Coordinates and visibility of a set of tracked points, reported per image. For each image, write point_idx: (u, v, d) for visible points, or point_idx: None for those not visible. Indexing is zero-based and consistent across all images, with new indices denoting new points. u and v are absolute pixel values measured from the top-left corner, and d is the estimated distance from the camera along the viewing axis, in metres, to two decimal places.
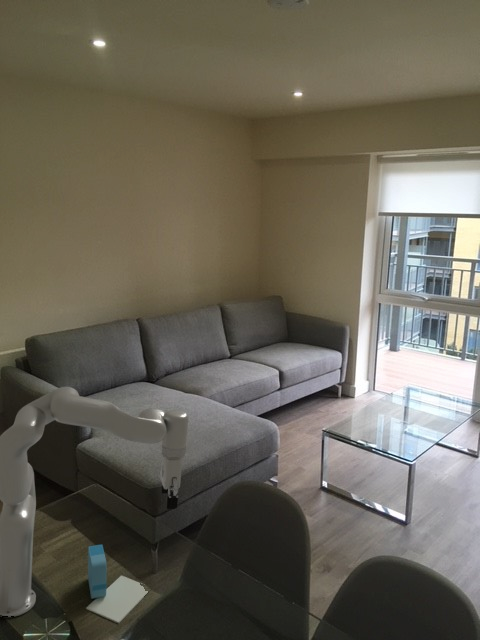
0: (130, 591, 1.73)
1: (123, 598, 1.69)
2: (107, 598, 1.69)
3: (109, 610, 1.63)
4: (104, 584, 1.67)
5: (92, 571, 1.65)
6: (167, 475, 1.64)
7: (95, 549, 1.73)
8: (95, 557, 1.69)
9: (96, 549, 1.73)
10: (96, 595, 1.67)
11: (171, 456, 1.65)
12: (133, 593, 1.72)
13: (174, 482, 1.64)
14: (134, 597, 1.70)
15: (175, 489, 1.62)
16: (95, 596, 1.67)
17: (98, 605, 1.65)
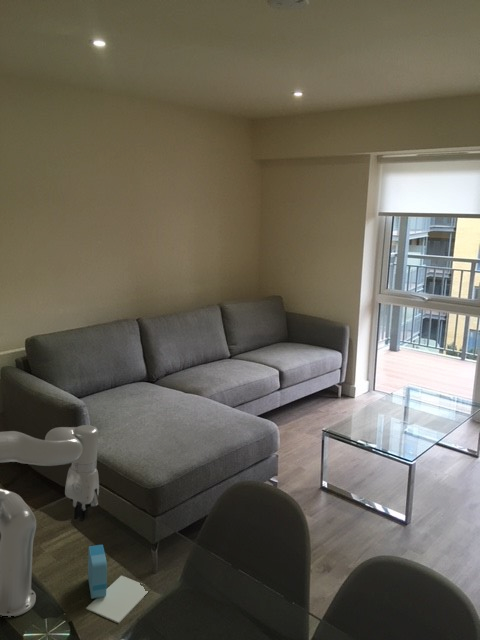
0: (130, 591, 1.73)
1: (123, 598, 1.69)
2: (107, 598, 1.69)
3: (109, 610, 1.63)
4: (104, 584, 1.67)
5: (92, 571, 1.65)
6: (90, 489, 1.66)
7: (95, 549, 1.73)
8: (95, 557, 1.69)
9: (96, 549, 1.73)
10: (96, 595, 1.67)
11: (90, 470, 1.67)
12: (133, 593, 1.72)
13: (95, 497, 1.69)
14: (134, 597, 1.70)
15: None
16: (95, 596, 1.67)
17: (98, 605, 1.65)
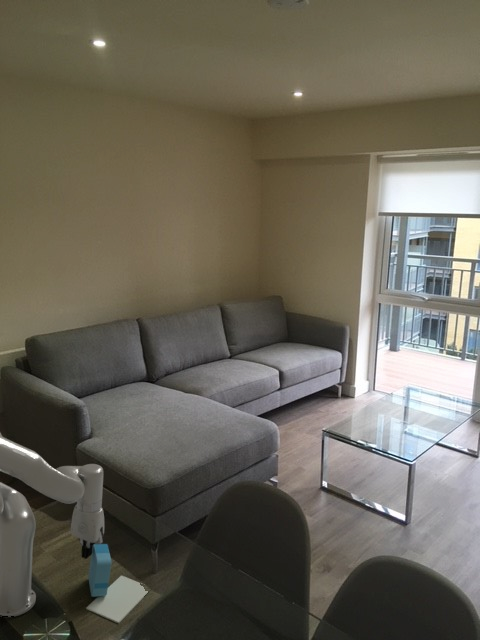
0: (130, 591, 1.73)
1: (123, 598, 1.69)
2: (107, 598, 1.69)
3: (109, 610, 1.63)
4: (106, 583, 1.67)
5: (97, 568, 1.66)
6: (96, 529, 1.68)
7: (100, 547, 1.74)
8: (100, 555, 1.70)
9: (101, 547, 1.74)
10: (97, 594, 1.67)
11: (96, 509, 1.68)
12: (133, 593, 1.72)
13: (100, 536, 1.70)
14: (134, 597, 1.70)
15: (100, 543, 1.70)
16: (96, 594, 1.67)
17: (98, 605, 1.65)
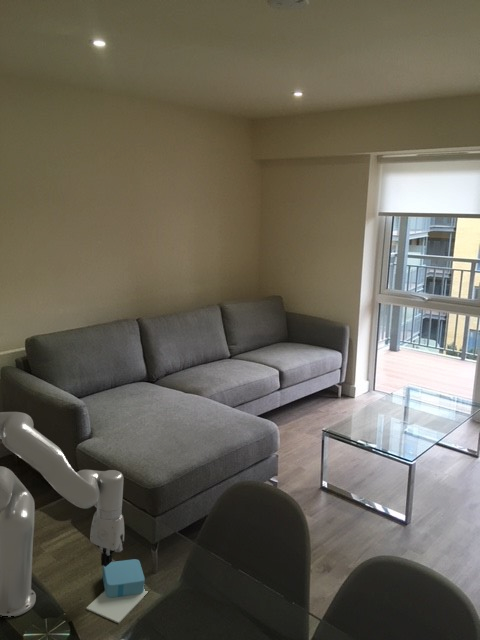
0: None
1: (123, 598, 1.69)
2: (107, 598, 1.69)
3: (109, 610, 1.63)
4: (122, 594, 1.70)
5: (139, 582, 1.71)
6: (116, 536, 1.65)
7: None
8: None
9: None
10: (111, 590, 1.68)
11: (116, 517, 1.65)
12: None
13: (120, 543, 1.67)
14: (134, 597, 1.70)
15: (120, 551, 1.67)
16: (111, 588, 1.68)
17: (98, 605, 1.65)
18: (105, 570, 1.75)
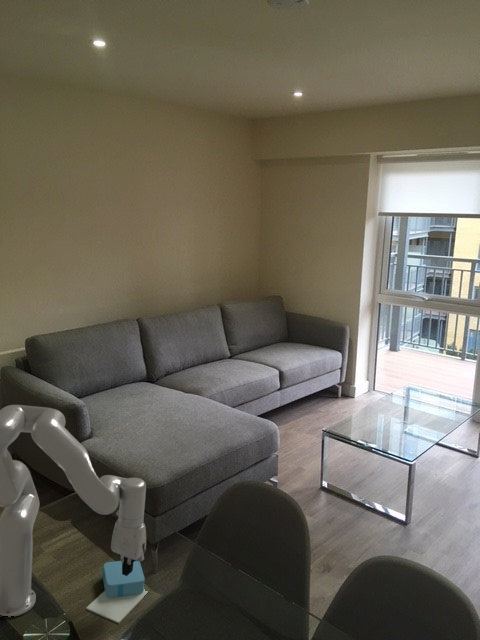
0: None
1: (123, 598, 1.69)
2: (107, 598, 1.69)
3: (109, 610, 1.63)
4: (122, 594, 1.70)
5: (139, 582, 1.71)
6: (138, 545, 1.61)
7: None
8: None
9: None
10: (111, 590, 1.68)
11: (138, 525, 1.62)
12: None
13: (141, 552, 1.64)
14: (134, 597, 1.70)
15: (142, 560, 1.64)
16: (111, 588, 1.68)
17: (98, 605, 1.65)
18: (105, 570, 1.75)
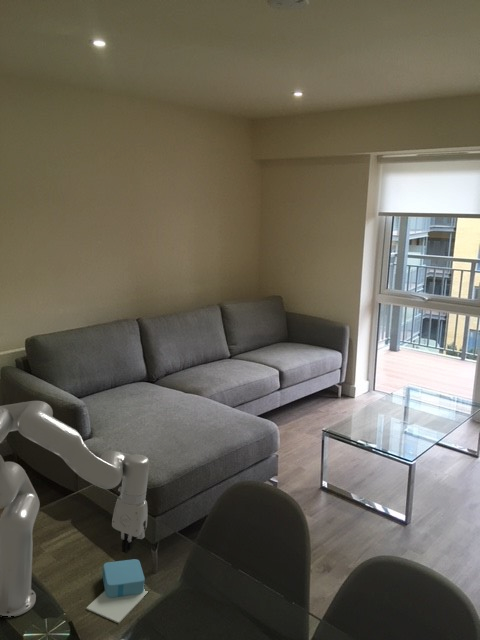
0: None
1: (123, 598, 1.69)
2: (107, 598, 1.69)
3: (109, 610, 1.63)
4: (122, 594, 1.70)
5: (139, 582, 1.71)
6: (140, 522, 1.60)
7: None
8: None
9: None
10: (111, 590, 1.68)
11: (140, 502, 1.61)
12: None
13: (142, 530, 1.62)
14: (134, 597, 1.70)
15: (143, 537, 1.63)
16: (111, 588, 1.68)
17: (98, 605, 1.65)
18: (105, 570, 1.75)
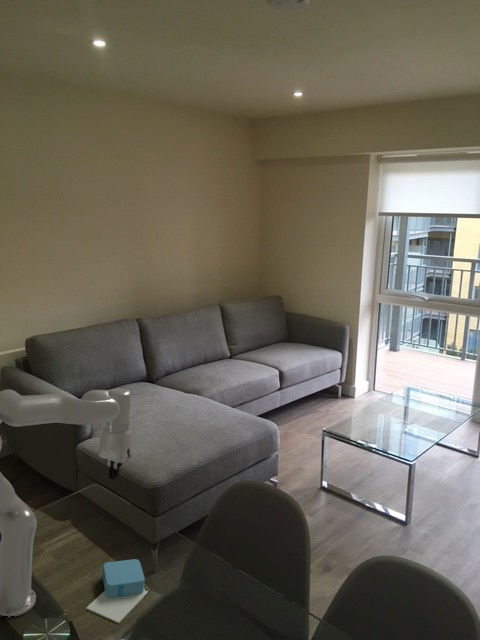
0: None
1: (123, 598, 1.69)
2: (107, 598, 1.69)
3: (109, 610, 1.63)
4: (122, 594, 1.70)
5: (139, 582, 1.71)
6: (124, 449, 1.74)
7: None
8: None
9: None
10: (111, 590, 1.68)
11: (123, 431, 1.75)
12: None
13: (127, 457, 1.77)
14: (134, 597, 1.70)
15: (127, 464, 1.77)
16: (111, 588, 1.68)
17: (98, 605, 1.65)
18: (105, 570, 1.75)
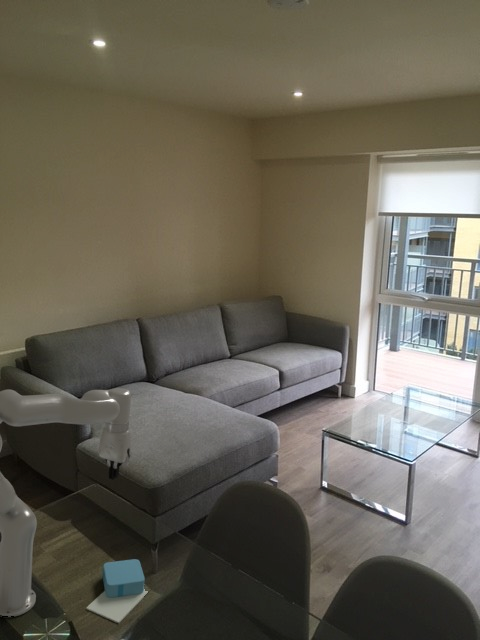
0: None
1: (123, 598, 1.69)
2: (107, 598, 1.69)
3: (109, 610, 1.63)
4: (122, 594, 1.70)
5: (139, 582, 1.71)
6: (123, 449, 1.75)
7: None
8: None
9: None
10: (111, 590, 1.68)
11: (123, 431, 1.75)
12: None
13: (126, 457, 1.77)
14: (134, 597, 1.70)
15: (127, 464, 1.77)
16: (111, 588, 1.68)
17: (98, 605, 1.65)
18: (105, 570, 1.75)
